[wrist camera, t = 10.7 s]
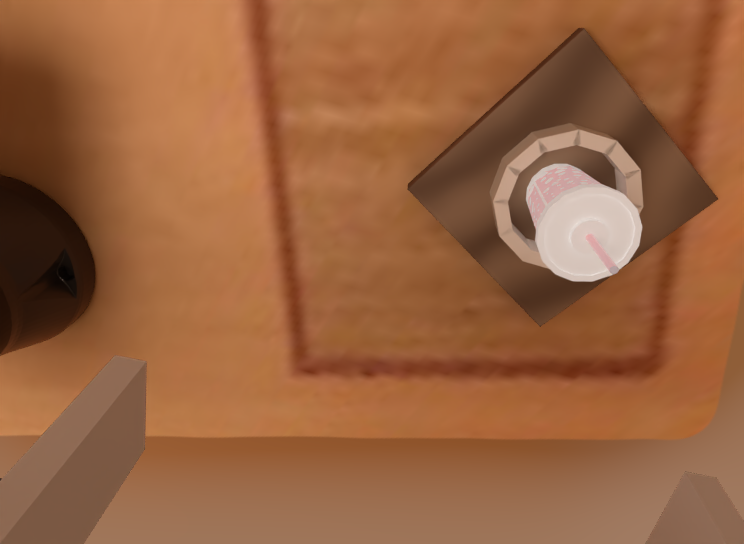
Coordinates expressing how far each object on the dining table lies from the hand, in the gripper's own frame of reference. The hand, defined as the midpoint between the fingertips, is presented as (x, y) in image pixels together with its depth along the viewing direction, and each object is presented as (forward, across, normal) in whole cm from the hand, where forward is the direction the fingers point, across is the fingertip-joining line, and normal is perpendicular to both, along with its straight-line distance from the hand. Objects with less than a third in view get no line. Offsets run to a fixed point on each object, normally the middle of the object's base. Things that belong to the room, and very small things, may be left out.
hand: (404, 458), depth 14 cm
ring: (+31, +11, 0) cm, 33 cm away
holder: (+33, +11, 0) cm, 34 cm away
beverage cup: (+31, +11, 0) cm, 33 cm away
